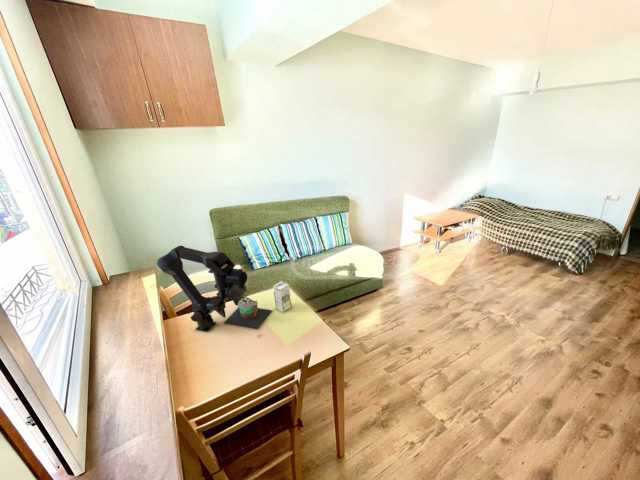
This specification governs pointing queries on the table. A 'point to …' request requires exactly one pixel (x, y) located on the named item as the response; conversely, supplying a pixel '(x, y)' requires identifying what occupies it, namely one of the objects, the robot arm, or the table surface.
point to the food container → (248, 308)
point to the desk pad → (251, 323)
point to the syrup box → (282, 296)
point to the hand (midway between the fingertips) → (230, 311)
